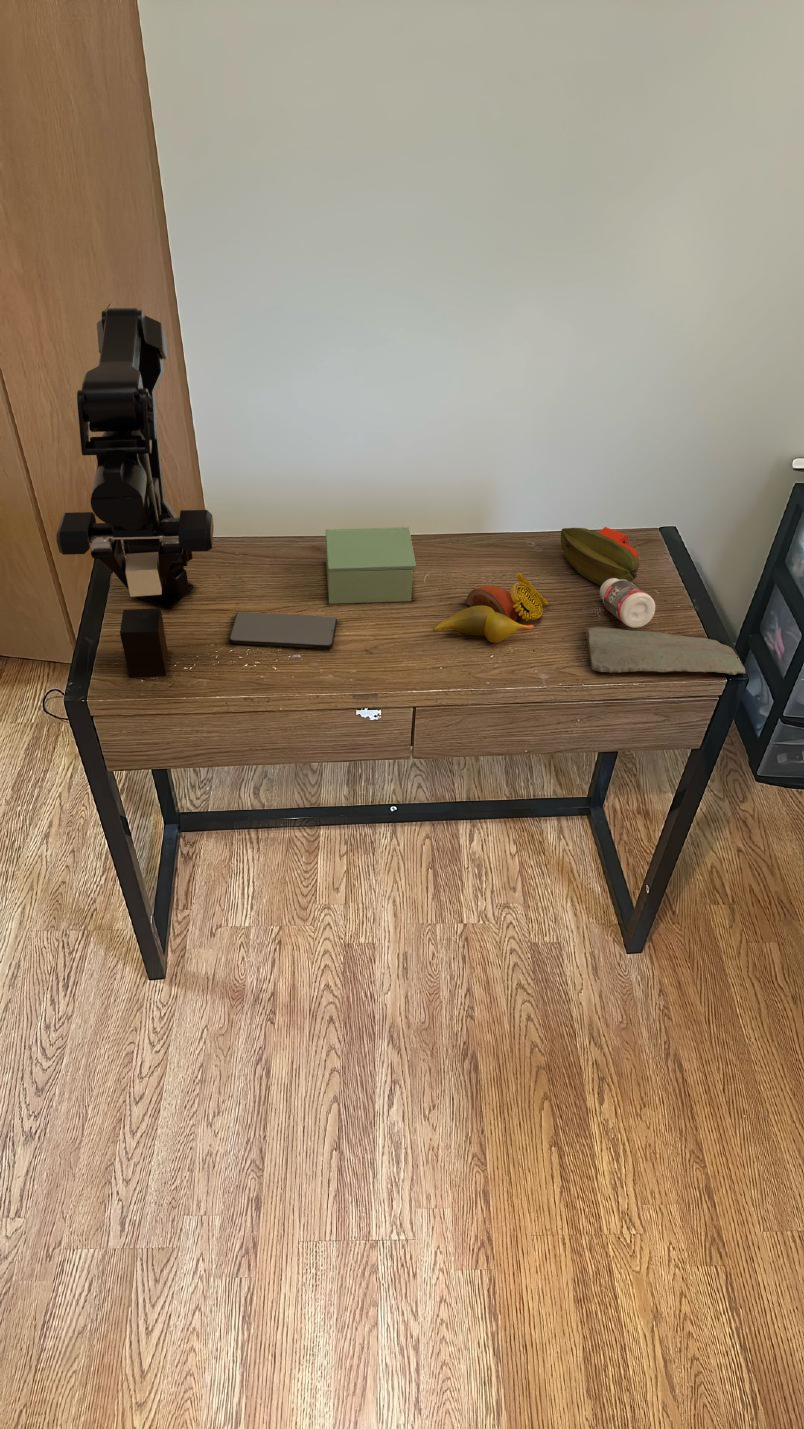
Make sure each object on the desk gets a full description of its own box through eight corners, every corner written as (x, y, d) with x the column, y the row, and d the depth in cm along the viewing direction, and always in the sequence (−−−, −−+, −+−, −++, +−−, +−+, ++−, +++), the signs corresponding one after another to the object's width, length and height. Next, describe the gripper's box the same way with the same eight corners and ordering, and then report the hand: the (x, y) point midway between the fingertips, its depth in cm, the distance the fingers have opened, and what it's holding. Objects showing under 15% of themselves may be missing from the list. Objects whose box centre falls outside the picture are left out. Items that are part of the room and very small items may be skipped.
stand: (129, 677, 133) (119, 632, 128) (132, 654, 137) (123, 609, 131) (166, 676, 134) (158, 630, 128) (168, 653, 137) (160, 608, 132)
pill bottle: (616, 607, 140) (589, 586, 148) (630, 635, 142) (603, 613, 151) (648, 586, 140) (619, 566, 148) (661, 615, 142) (632, 594, 151)
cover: (408, 530, 152) (408, 527, 152) (416, 569, 145) (416, 565, 144) (325, 532, 151) (325, 529, 151) (328, 572, 143) (328, 568, 143)
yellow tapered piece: (523, 622, 146) (535, 645, 141) (426, 628, 144) (435, 651, 139) (526, 597, 144) (539, 619, 139) (428, 602, 141) (437, 625, 136)
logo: (548, 602, 149) (537, 628, 143) (544, 605, 149) (533, 631, 143) (519, 571, 147) (507, 596, 141) (516, 574, 148) (504, 599, 142)
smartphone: (236, 611, 144) (337, 616, 143) (237, 616, 144) (337, 621, 144) (228, 640, 139) (332, 645, 138) (228, 645, 139) (332, 650, 139)
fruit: (597, 594, 160) (572, 603, 156) (575, 525, 159) (549, 532, 155) (652, 577, 151) (626, 585, 147) (629, 503, 150) (602, 510, 146)
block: (130, 596, 126) (125, 571, 123) (131, 579, 129) (126, 553, 126) (161, 594, 126) (157, 569, 124) (161, 577, 129) (157, 551, 126)
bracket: (573, 527, 158) (588, 515, 161) (570, 547, 161) (584, 535, 164) (637, 553, 154) (651, 539, 157) (632, 573, 156) (646, 559, 159)
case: (404, 562, 156) (405, 531, 152) (411, 601, 149) (412, 570, 145) (326, 564, 155) (325, 533, 151) (329, 603, 147) (328, 572, 143)
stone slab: (581, 637, 145) (591, 673, 137) (584, 621, 143) (594, 657, 135) (727, 646, 146) (746, 683, 137) (732, 630, 144) (751, 666, 136)
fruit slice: (489, 583, 151) (472, 610, 151) (473, 568, 145) (455, 596, 145) (531, 607, 147) (513, 635, 147) (517, 593, 141) (498, 622, 141)
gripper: (209, 447, 123) (220, 550, 134) (58, 449, 122) (82, 553, 132) (205, 492, 115) (217, 598, 126) (44, 495, 114) (70, 602, 124)
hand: (146, 586), depth 127 cm, fingers closed on block, 4 cm apart
